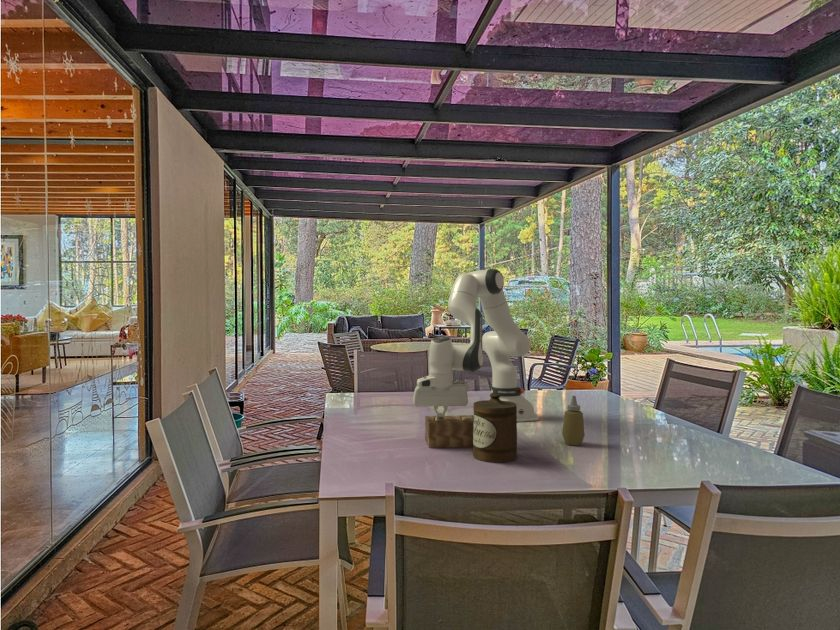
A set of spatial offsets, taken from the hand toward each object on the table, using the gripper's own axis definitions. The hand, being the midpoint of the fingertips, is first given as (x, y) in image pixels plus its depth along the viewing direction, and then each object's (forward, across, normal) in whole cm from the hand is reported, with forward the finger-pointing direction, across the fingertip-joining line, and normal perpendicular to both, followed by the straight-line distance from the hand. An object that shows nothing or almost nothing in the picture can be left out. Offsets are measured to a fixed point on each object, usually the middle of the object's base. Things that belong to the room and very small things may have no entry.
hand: (440, 418), depth 214 cm
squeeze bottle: (+10, -49, +5) cm, 50 cm away
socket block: (+9, -5, 0) cm, 11 cm away
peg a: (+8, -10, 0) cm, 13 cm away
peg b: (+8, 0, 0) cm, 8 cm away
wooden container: (+10, -16, +19) cm, 27 cm away
